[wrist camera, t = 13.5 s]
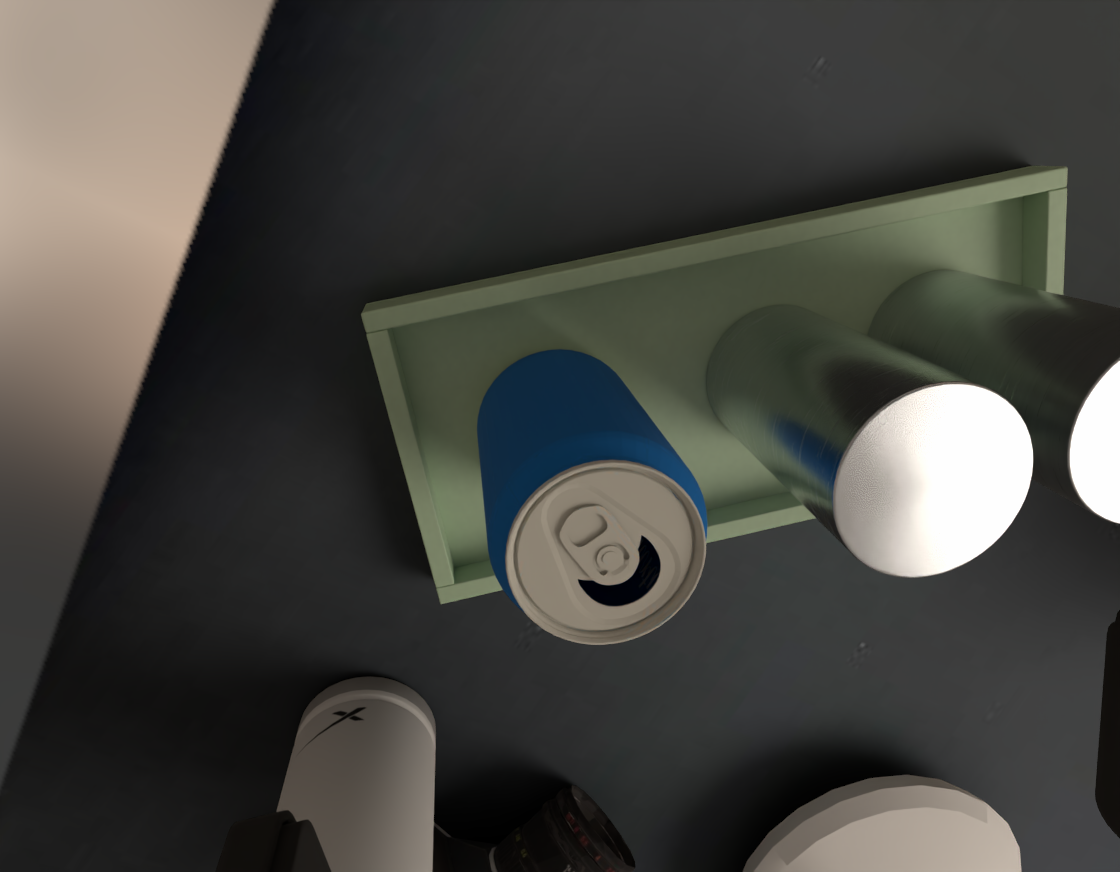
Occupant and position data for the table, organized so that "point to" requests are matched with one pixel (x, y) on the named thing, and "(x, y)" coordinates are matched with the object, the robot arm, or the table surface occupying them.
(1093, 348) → the can
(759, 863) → the vase
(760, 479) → the tray
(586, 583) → the beverage can
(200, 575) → the table surface
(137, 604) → the table surface
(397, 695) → the travel mug
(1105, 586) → the table surface
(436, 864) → the camera
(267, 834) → the robot arm
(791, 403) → the can
